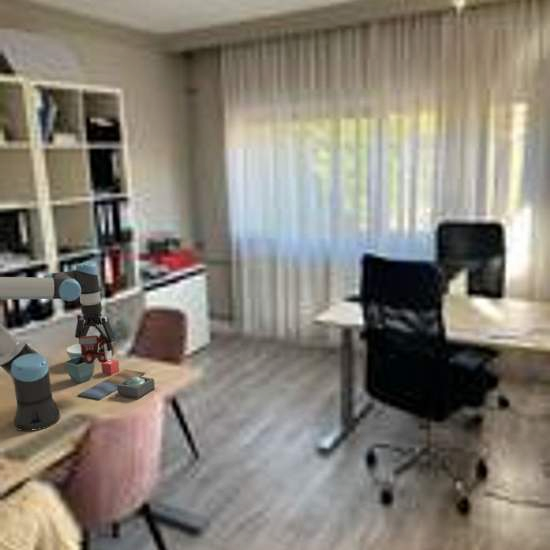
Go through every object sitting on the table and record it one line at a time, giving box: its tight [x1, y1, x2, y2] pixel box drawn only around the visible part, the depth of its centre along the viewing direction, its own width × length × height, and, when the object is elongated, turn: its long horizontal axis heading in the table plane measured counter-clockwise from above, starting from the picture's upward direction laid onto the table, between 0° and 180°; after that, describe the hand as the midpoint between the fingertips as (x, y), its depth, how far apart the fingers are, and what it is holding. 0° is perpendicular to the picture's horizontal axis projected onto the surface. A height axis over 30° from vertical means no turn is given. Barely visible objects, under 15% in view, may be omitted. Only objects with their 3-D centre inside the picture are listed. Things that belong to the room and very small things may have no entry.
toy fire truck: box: [78, 334, 115, 364], centre depth 227 cm, size 7×12×10 cm, turn 100°
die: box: [100, 358, 120, 376], centre depth 249 cm, size 5×5×5 cm
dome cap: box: [126, 377, 145, 387], centre depth 227 cm, size 7×7×5 cm
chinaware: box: [66, 343, 100, 362], centre depth 262 cm, size 15×15×8 cm
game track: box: [77, 369, 146, 401], centre depth 237 cm, size 28×11×1 cm, turn 154°
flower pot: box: [64, 356, 95, 384], centre depth 242 cm, size 9×9×9 cm
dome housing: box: [117, 376, 156, 400], centre depth 227 cm, size 10×10×4 cm
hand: (97, 356), depth 227 cm, fingers closed on toy fire truck, 11 cm apart
